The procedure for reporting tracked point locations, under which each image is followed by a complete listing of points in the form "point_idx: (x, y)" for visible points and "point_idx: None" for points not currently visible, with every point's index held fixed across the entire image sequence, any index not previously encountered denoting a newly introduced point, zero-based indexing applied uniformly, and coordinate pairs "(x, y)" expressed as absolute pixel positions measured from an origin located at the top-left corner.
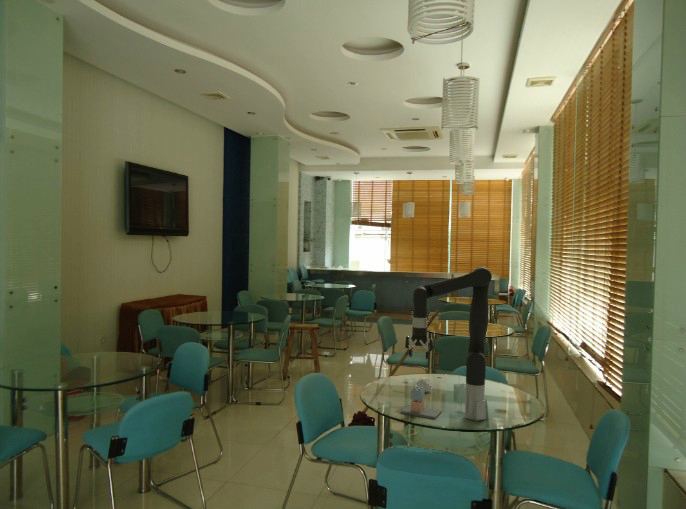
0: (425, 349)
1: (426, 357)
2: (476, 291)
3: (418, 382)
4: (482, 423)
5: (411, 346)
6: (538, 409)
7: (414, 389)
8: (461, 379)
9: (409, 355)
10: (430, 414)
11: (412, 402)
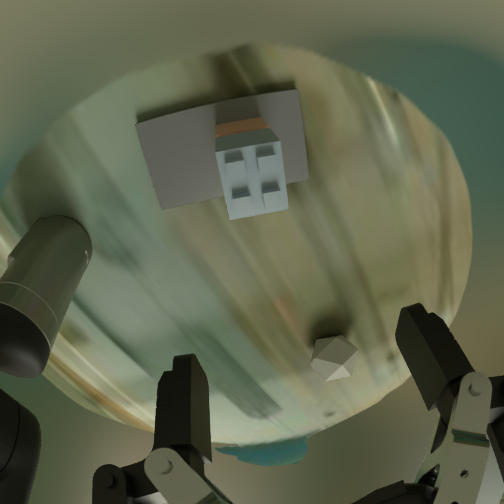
0: (198, 478)
1: (180, 369)
2: None
3: (350, 352)
4: (20, 214)
5: (466, 430)
6: (47, 375)
7: (265, 153)
8: (281, 428)
9: (428, 315)
10: (167, 135)
11: (260, 125)
